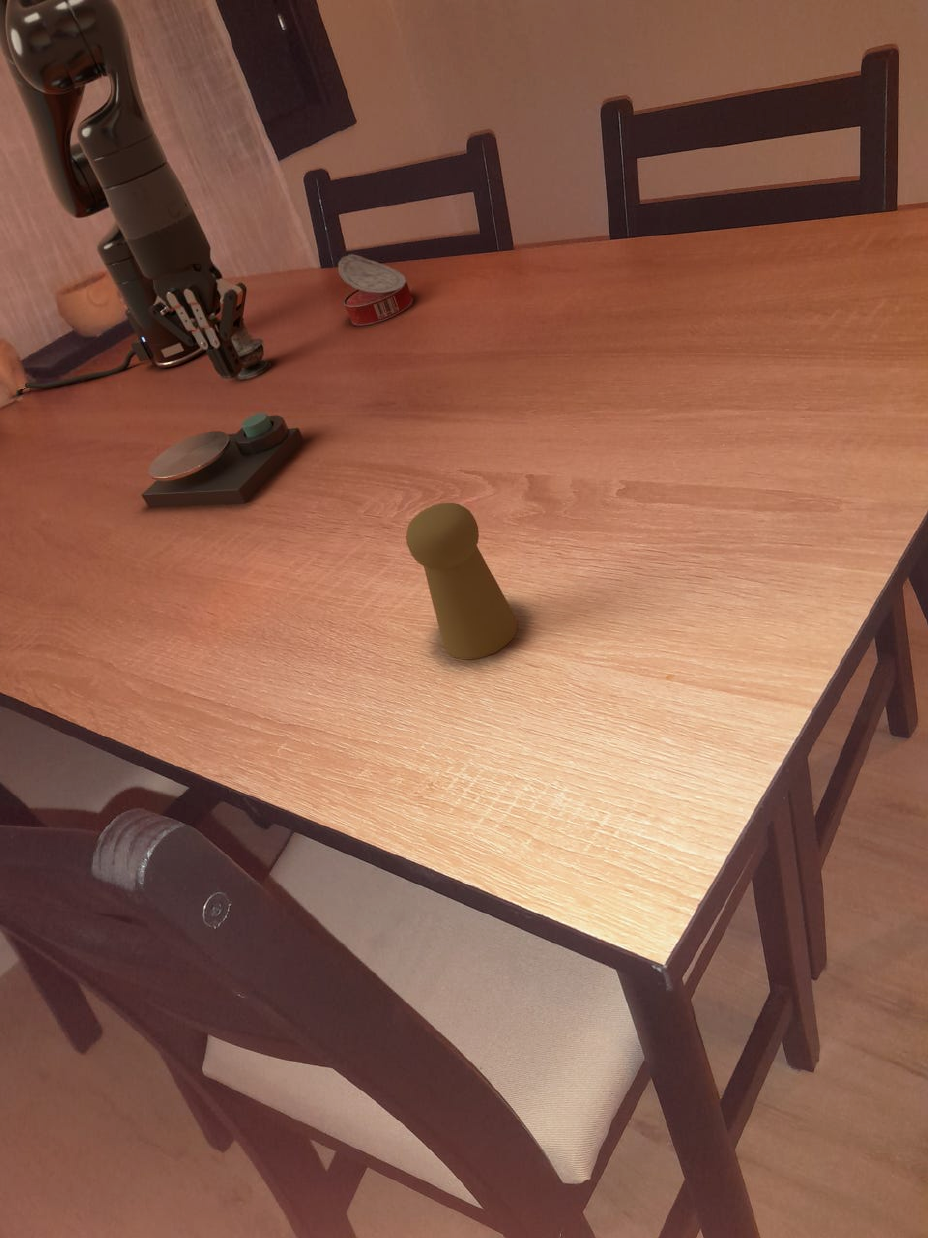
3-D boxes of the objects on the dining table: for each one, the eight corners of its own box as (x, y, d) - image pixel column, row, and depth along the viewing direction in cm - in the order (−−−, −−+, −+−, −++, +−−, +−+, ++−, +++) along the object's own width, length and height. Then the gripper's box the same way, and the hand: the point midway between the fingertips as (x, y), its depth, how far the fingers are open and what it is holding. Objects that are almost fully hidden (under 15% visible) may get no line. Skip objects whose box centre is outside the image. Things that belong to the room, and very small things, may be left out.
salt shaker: (264, 375, 136) (227, 295, 129) (229, 383, 138) (191, 305, 131) (278, 357, 140) (243, 279, 133) (244, 365, 142) (207, 288, 135)
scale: (148, 508, 111) (133, 483, 109) (213, 446, 120) (200, 422, 118) (246, 504, 104) (231, 476, 102) (307, 439, 113) (295, 412, 111)
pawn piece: (440, 621, 76) (393, 507, 69) (512, 599, 75) (471, 481, 69) (445, 668, 71) (394, 550, 64) (523, 645, 70) (479, 523, 64)
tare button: (242, 439, 111) (236, 427, 110) (256, 425, 113) (251, 413, 112) (263, 437, 109) (257, 425, 108) (277, 423, 111) (272, 411, 110)
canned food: (394, 326, 149) (397, 258, 146) (422, 329, 141) (425, 257, 138) (326, 322, 144) (327, 252, 141) (350, 325, 135) (352, 250, 132)
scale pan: (133, 483, 109) (131, 479, 109) (184, 437, 116) (182, 433, 116) (197, 479, 104) (195, 475, 104) (246, 431, 111) (244, 428, 111)
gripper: (226, 194, 96) (295, 352, 106) (134, 218, 102) (208, 365, 112) (183, 222, 91) (260, 385, 101) (89, 245, 97) (170, 396, 107)
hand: (232, 374), depth 107 cm, fingers closed
